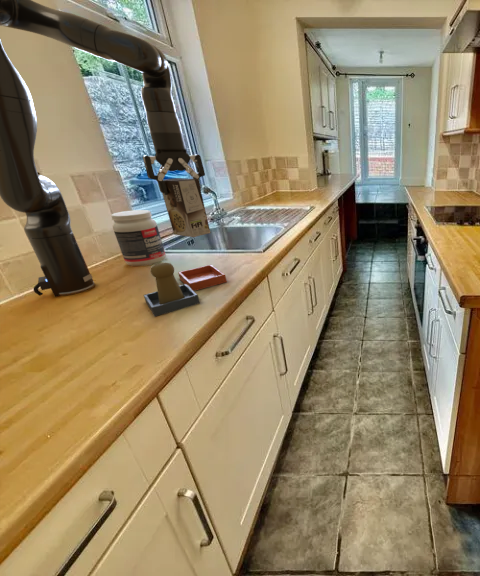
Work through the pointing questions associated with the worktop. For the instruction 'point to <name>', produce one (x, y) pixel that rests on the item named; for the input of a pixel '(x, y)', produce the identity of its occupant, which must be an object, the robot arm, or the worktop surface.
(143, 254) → the supplement tub
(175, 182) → the coffee box
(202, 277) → the terracotta tray
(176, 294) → the cork
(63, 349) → the worktop surface
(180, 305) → the slate tray
